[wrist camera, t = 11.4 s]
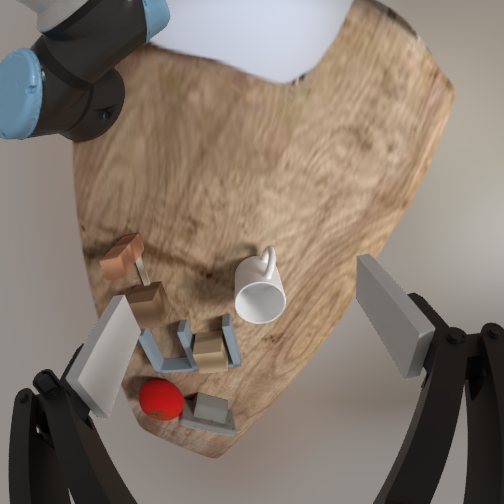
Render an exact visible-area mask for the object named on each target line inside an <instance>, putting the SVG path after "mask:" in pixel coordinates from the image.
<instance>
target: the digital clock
mask: <svg viewBox="0 0 504 504" xmlns="http://www.w3.org/2000/svg"><path fill="white" fill-rule="evenodd" d="M179 423H180V424H181V425H182V426H185V427H189V428H193V429H197V430H201V431H205V432H210V433H215V434H219V435H225V436H236V434H237V431H236V427H235V422H234V418H233V414H232V412H231V411H230V410H228V400H225V399H221V398H217V397H213V396H209V395H205V394H202V393H197V395H196V396H195V398H194V400H193V401H191V400H188V399H184V407H183V409H182V411H181V413H180V414H179Z"/></svg>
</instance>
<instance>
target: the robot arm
mask: <svg viewBox="0 0 504 504" xmlns="http://www.w3.org/2000/svg"><path fill="white" fill-rule="evenodd" d="M17 1H19V2H20V3H22V4H24V5H26V6H27V7H28V8H30V9H32V10H33V11H35V12H36V13H37V30H38V31H39V32H41V33H42V34H43V35H42V36H41V37H40V38H39V39H38V40H37V41H36V42H35V43H34V44H33V46H32V47H31V48H30V49H28V48H21V49H18V50H16V51H13V52H11V53H10V54H8V55H7V56H6V57H5V59H3V61H2V62H1V63H0V137H1V138H3V139H20V140H23V139H26V138H30V137H36V136H43V135H50V134H57V133H59V134H61V135H63V136H64V137H66V138H68V139H70V140H74V141H85V140H91V139H94V138H97V137H99V136H101V135H102V134H104V133H105V132H106V131H107V130H108V129H109V128H110V127H111V126H112V125H113V124H114V123H115V121H116V120H117V118H118V116H119V114H120V112H121V110H122V107H123V103H124V97H125V88H124V83H123V79H122V77H121V75H120V74H119V72H118V71H117V70H116V69H115V68H113V67H115V66H116V65H117V64H118V63H119V62H121V61H122V60H123V59H124V58H125V57H127V56H128V55H129V54H130V53H132V52H133V51H134V50H136V49H137V48H138V47H140V46H141V45H142V44H146V43H147V42H148V41H149V40H150V38H152V37H153V36H154V35H156V34H157V33H159V32H160V31H161V30H163V29H164V28H165V27H166V26H167V24H168V22H169V20H170V12H169V8H168V5H167V3H166V0H17ZM356 299H357V301H358V302H359V304H360V305H361V307H362V308H363V310H364V312H365V313H366V315H367V317H368V318H369V320H370V321H371V323H372V325H373V326H374V328H375V330H376V331H377V333H378V334H379V336H380V338H381V340H382V341H383V343H384V345H385V346H386V348H387V350H388V352H389V353H390V355H391V357H392V358H393V360H394V362H395V364H396V365H397V367H398V369H399V371H400V373H401V374H402V376H403V378H404V380H405V381H406V380H409V379H411V378H414V377H416V376H419V375H420V373H421V370H422V368H423V367H424V368H425V370H426V372H427V374H426V376H425V379H424V381H423V383H422V386H421V388H422V390H421V393H420V397H419V401H418V403H417V406H416V410H415V412H414V415H413V418H412V421H411V424H410V426H409V429H408V431H407V434H406V437H405V439H404V442H403V444H402V447H401V449H400V451H399V453H398V456H397V458H396V460H395V463H394V464H393V467H392V469H391V471H390V473H389V475H388V477H387V479H386V481H385V483H384V485H383V486H382V488H381V490H380V492H379V494H378V496H377V497H376V499H375V501H374V503H373V504H430V503H431V500H432V498H433V495H434V493H435V490H436V488H437V485H438V483H439V480H440V478H441V475H442V472H443V469H444V466H445V463H446V460H447V457H448V454H449V450H450V447H451V443H452V440H453V436H454V432H455V428H456V424H457V419H458V415H459V410H460V405H461V399H462V394H463V387H464V385H465V395H466V406H467V425H468V458H467V476H466V487H465V495H464V503H463V504H504V329H503V328H502V327H501V326H500V325H498V324H496V323H487V324H485V325H484V326H483V328H482V330H481V332H480V333H477V334H468V335H467V334H466V333H465V332H464V331H462V330H461V329H459V328H456V327H449V326H448V325H447V324H446V323H445V322H444V320H443V319H442V318H441V317H440V316H439V315H438V314H437V313H436V312H435V310H433V308H432V307H431V306H430V305H429V304H428V303H427V301H426V300H425V299H424V298H423V297H421V296H419V295H418V294H416V293H411V294H406V293H405V292H404V291H403V290H402V289H401V287H400V286H399V285H398V284H397V283H396V282H395V281H394V280H393V278H392V277H391V276H390V275H389V274H388V273H387V272H386V271H385V270H384V269H383V268H382V267H381V266H380V264H379V263H378V262H377V261H376V260H375V259H374V258H373V257H372V256H371V255H370V254H365V255H360V256H357V281H356ZM140 333H141V330H140V328H139V326H138V324H137V322H136V319H135V317H134V315H133V313H132V311H131V308H130V306H129V304H128V302H127V299H126V297H125V295H117V296H113V298H112V299H111V301H110V303H109V304H108V306H107V307H106V309H105V310H104V312H103V314H102V315H101V317H100V318H99V320H98V322H97V323H96V325H95V327H94V328H93V330H92V332H91V334H90V335H89V337H88V339H87V340H86V342H85V344H82V345H81V346H80V347H79V348H78V349H77V350H76V352H75V353H74V355H73V358H72V359H71V360H70V362H69V363H70V364H68V366H67V368H66V369H65V371H64V373H63V375H62V377H61V379H60V381H59V379H58V378H57V377H56V375H55V374H54V373H53V371H52V370H50V369H45V370H42V371H41V372H39V373H38V374H37V375H36V376H35V378H34V380H33V386H34V387H35V388H36V389H37V390H38V392H39V393H40V394H38V395H35V394H34V393H33V392H32V390H31V389H28V388H24V389H22V390H21V391H19V392H18V394H17V395H16V398H15V401H14V408H13V415H12V423H11V433H10V445H9V495H10V504H71V501H70V496H69V490H70V493H71V495H72V497H73V500H74V502H75V504H137V502H136V501H135V499H134V498H133V496H132V495H131V493H130V492H129V490H128V488H127V487H126V485H125V484H124V482H123V480H122V478H121V477H120V475H119V473H118V471H117V470H116V468H115V466H114V464H113V462H112V460H111V459H110V457H109V455H108V453H107V451H106V449H105V447H104V445H103V443H102V441H101V439H100V437H99V434H98V432H97V430H96V428H95V426H94V423H93V421H92V419H91V417H90V416H89V415H88V414H89V411H90V410H91V411H92V412H93V413H94V414H95V415H96V416H97V417H103V418H109V417H110V414H111V411H112V408H113V405H114V402H115V399H116V396H117V394H118V391H119V388H120V385H121V382H122V380H123V377H124V374H125V372H126V369H127V366H128V364H129V361H130V358H131V356H132V353H133V351H134V348H135V346H136V343H137V341H138V338H139V336H140ZM36 427H37V428H38V429H39V433H37V429H36ZM68 488H69V490H68Z"/></svg>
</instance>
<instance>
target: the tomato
mask: <svg viewBox="0 0 504 504" xmlns="http://www.w3.org/2000/svg"><path fill="white" fill-rule="evenodd" d="M139 402H140V406H141V408H142V410H143V411H144V413H145V414H147V415H148V416H150V417H152V418H155V419H158V420H165V421H167V420H172V419H174V418H175V417H177V416H178V415H179V414H180V413H181V411H182V409H183V407H184V398H183V395H182V393H181V392H180V390H179V389H178V388H177V387H176V386H175V385H174V384H172V383H170V382H168V381H165V380H160V379H154V380H150V381H148V382H146V383H145V384H144V385H142V387H141V389H140V391H139Z"/></svg>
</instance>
